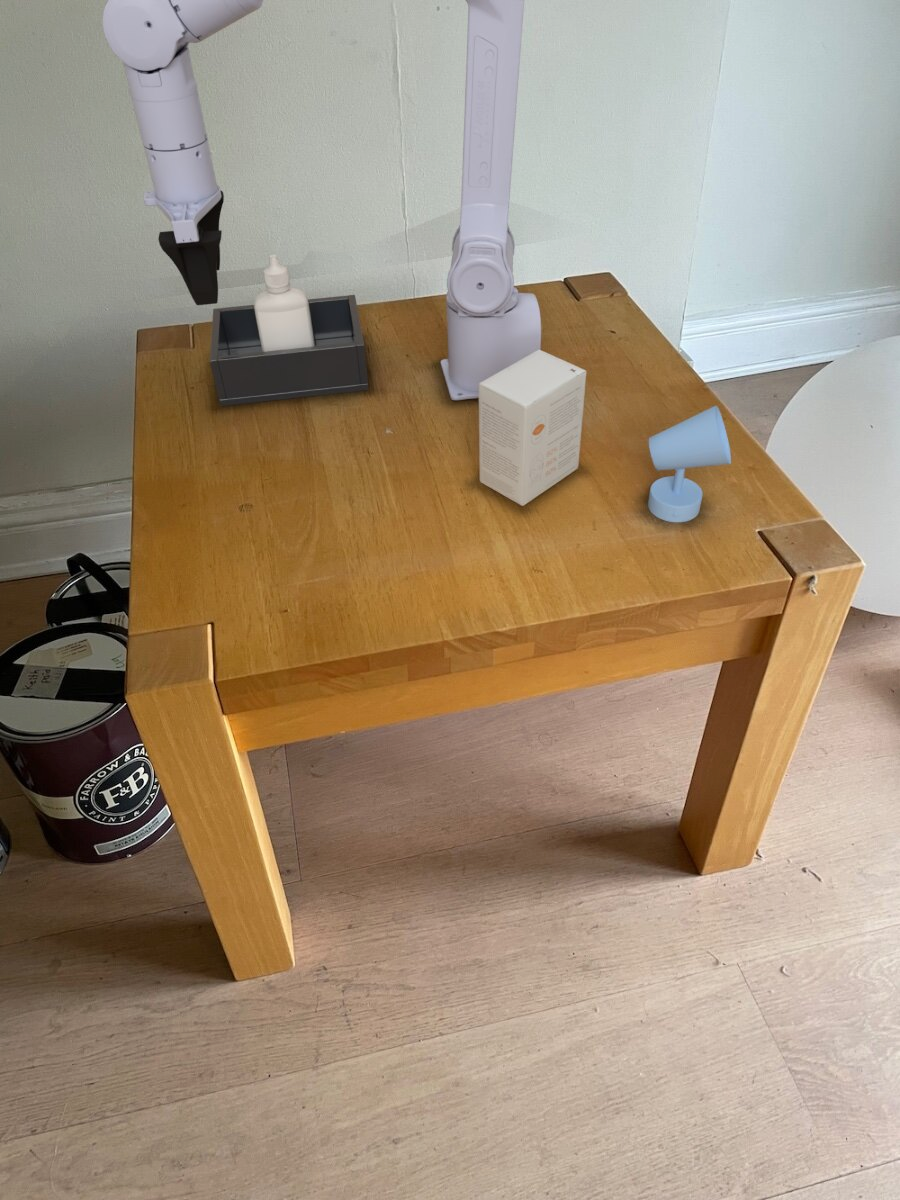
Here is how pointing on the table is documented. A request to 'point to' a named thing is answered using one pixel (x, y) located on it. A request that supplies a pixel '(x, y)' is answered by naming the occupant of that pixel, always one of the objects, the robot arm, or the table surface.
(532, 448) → the small box
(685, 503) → the spotlight
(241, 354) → the open rectangular box
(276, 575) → the table surface
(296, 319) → the eye dropper bottle
